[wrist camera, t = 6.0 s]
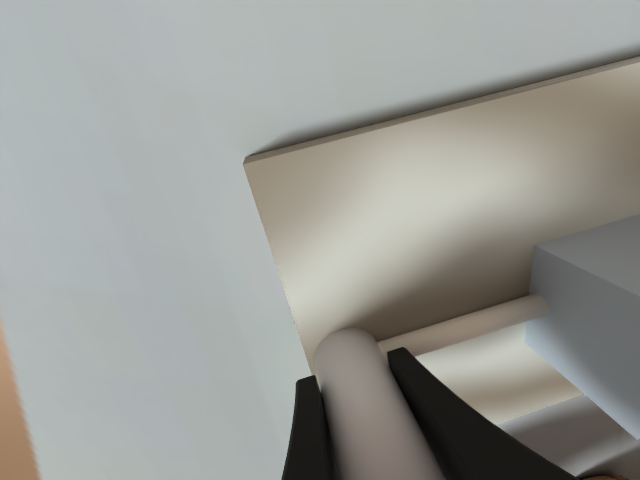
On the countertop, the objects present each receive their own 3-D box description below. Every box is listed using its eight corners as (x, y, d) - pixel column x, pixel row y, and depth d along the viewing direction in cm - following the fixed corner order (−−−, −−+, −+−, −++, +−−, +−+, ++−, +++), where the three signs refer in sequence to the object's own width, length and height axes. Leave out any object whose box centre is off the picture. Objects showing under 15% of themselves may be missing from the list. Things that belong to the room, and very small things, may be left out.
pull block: (621, 310, 14) (822, 420, 9) (327, 405, 13) (370, 591, 8) (647, 211, 12) (929, 283, 7) (299, 314, 11) (333, 490, 6)
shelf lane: (740, 310, 18) (877, 366, 14) (338, 446, 16) (364, 557, 12) (893, -9, 12) (1232, -75, 8) (245, 157, 10) (234, 188, 6)
